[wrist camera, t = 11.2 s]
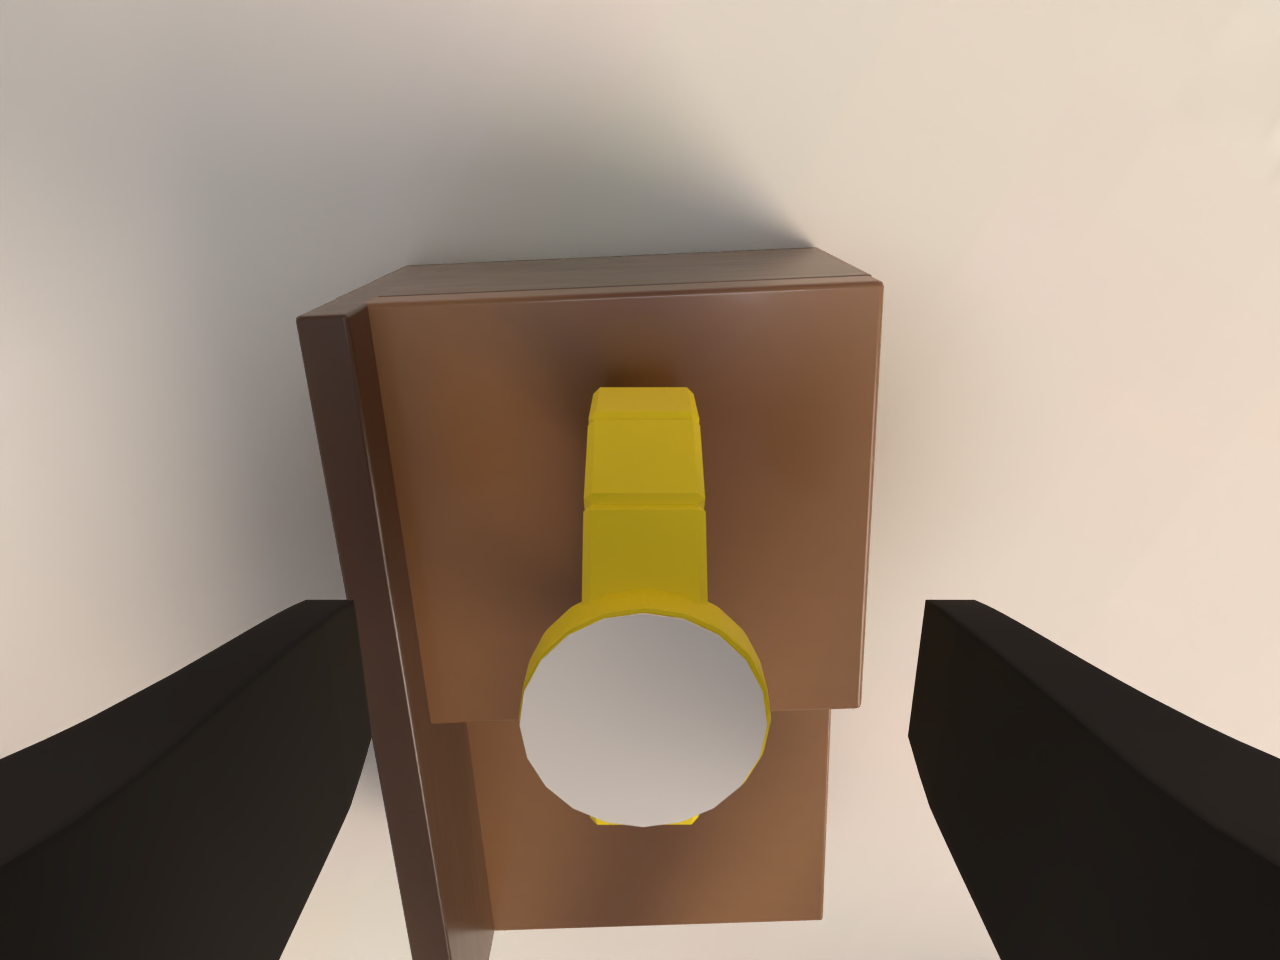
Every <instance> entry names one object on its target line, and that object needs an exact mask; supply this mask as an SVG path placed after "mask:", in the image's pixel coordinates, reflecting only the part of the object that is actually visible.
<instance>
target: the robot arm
mask: <svg viewBox="0 0 1280 960" xmlns="http://www.w3.org/2000/svg"><path fill="white" fill-rule="evenodd" d="M371 738H372V733H371V725H370V717H369V709H368V702H367V694H366V686H365V679H364V671H363V663H362V656H361V648H360V640H359V633H358V625H357V617H356V609H355V602H354V600H305V601H303V602H300V603H298V604H296V605H293V606H291V607H289V608H287V609H285V610H283V611H282V612H280V613H278V614H276V615H274V616H272V617H270V618H269V619H267V620H265V621H263V622H262V623H260V624H258V625H256V626H255V627H253V628H251V629H249V630H248V631H246V632H244V633H243V634H241V635H239V636H237V637H236V638H234V639H232V640H231V641H229V642H227V643H225V644H224V645H222V646H220V647H218V648H217V649H215V650H213V651H211V652H210V653H208V654H206V655H205V656H203V657H201V658H199V659H198V660H196V661H194V662H192V663H191V664H189V665H187V666H186V667H184V668H182V669H180V670H179V671H177V672H175V673H173V674H172V675H170V676H168V677H166V678H164V679H162V680H160V681H158V682H157V683H155V684H153V685H151V686H149V687H147V688H145V689H143V690H142V691H140V692H138V693H136V694H134V695H132V696H130V697H128V698H127V699H125V700H123V701H121V702H119V703H117V704H115V705H113V706H112V707H110V708H108V709H106V710H104V711H102V712H100V713H98V714H97V715H95V716H93V717H91V718H89V719H87V720H85V721H83V722H81V723H79V724H77V725H75V726H73V727H70V728H68V729H66V730H64V731H62V732H60V733H58V734H56V735H54V736H51V737H49V738H47V739H45V740H43V741H41V742H38V743H36V744H34V745H32V746H29V747H27V748H25V749H22V750H20V751H18V752H16V753H13V754H11V755H9V756H7V757H4V758H2V759H0V960H279V959H280V957H281V955H282V952H283V950H284V948H285V946H286V944H287V942H288V940H289V938H290V935H291V933H292V931H293V929H294V927H295V925H296V923H297V921H298V918H299V916H300V914H301V912H302V910H303V908H304V906H305V904H306V902H307V899H308V897H309V895H310V893H311V891H312V889H313V887H314V885H315V882H316V880H317V878H318V876H319V874H320V872H321V870H322V868H323V865H324V863H325V861H326V859H327V857H328V855H329V852H330V850H331V848H332V846H333V844H334V842H335V839H336V837H337V835H338V833H339V831H340V829H341V826H342V824H343V822H344V820H345V817H346V815H347V813H348V811H349V808H350V806H351V803H352V800H353V797H354V794H355V791H356V788H357V784H358V781H359V778H360V775H361V772H362V768H363V765H364V762H365V758H366V755H367V751H368V748H369V744H370V741H371ZM908 738H909V741H910V744H911V748H912V751H913V755H914V758H915V762H916V765H917V768H918V772H919V775H920V778H921V781H922V784H923V788H924V791H925V794H926V797H927V800H928V803H929V806H930V808H931V811H932V813H933V815H934V817H935V820H936V822H937V824H938V826H939V829H940V831H941V833H942V835H943V837H944V839H945V842H946V844H947V846H948V848H949V850H950V852H951V855H952V857H953V859H954V861H955V863H956V865H957V868H958V870H959V872H960V874H961V876H962V878H963V880H964V882H965V885H966V887H967V889H968V891H969V893H970V895H971V897H972V899H973V901H974V904H975V906H976V908H977V910H978V912H979V914H980V916H981V918H982V921H983V923H984V925H985V927H986V929H987V931H988V933H989V935H990V938H991V940H992V942H993V944H994V946H995V948H996V950H997V952H998V955H999V957H1000V959H1001V960H1280V759H1279V758H1277V757H1275V756H1272V755H1270V754H1268V753H1265V752H1263V751H1261V750H1259V749H1256V748H1254V747H1252V746H1249V745H1247V744H1245V743H1243V742H1240V741H1238V740H1236V739H1234V738H1231V737H1229V736H1227V735H1225V734H1223V733H1221V732H1219V731H1217V730H1215V729H1212V728H1210V727H1208V726H1206V725H1204V724H1202V723H1200V722H1198V721H1196V720H1194V719H1192V718H1190V717H1188V716H1186V715H1184V714H1182V713H1181V712H1179V711H1177V710H1175V709H1173V708H1171V707H1169V706H1167V705H1165V704H1163V703H1161V702H1159V701H1157V700H1155V699H1153V698H1151V697H1149V696H1147V695H1146V694H1144V693H1142V692H1140V691H1138V690H1136V689H1135V688H1133V687H1131V686H1129V685H1127V684H1125V683H1124V682H1122V681H1120V680H1118V679H1116V678H1114V677H1113V676H1111V675H1109V674H1107V673H1106V672H1104V671H1102V670H1100V669H1098V668H1097V667H1095V666H1093V665H1091V664H1090V663H1088V662H1086V661H1085V660H1083V659H1081V658H1079V657H1078V656H1076V655H1074V654H1072V653H1071V652H1069V651H1067V650H1066V649H1064V648H1062V647H1060V646H1059V645H1057V644H1055V643H1053V642H1052V641H1050V640H1048V639H1047V638H1045V637H1043V636H1041V635H1040V634H1038V633H1036V632H1035V631H1033V630H1031V629H1029V628H1028V627H1026V626H1024V625H1022V624H1021V623H1019V622H1017V621H1015V620H1014V619H1012V618H1010V617H1008V616H1006V615H1005V614H1003V613H1001V612H999V611H997V610H995V609H993V608H991V607H989V606H987V605H985V604H983V603H980V602H978V601H976V600H926V602H925V609H924V617H923V625H922V633H921V640H920V648H919V656H918V663H917V671H916V679H915V686H914V694H913V702H912V709H911V717H910V725H909V733H908Z"/></svg>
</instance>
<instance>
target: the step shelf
mask: <svg viewBox="0 0 1280 960" xmlns="http://www.w3.org/2000/svg"><path fill="white" fill-rule="evenodd" d="M883 291H884V286H883V283H882V282H881V281H879V280H877V279H875V278H873V277H872V276H871V275H870V274H868V273H866V272H864V271H862V270H860V269H858V268H856V267H854V266H852V265H850V264H848V263H846V262H844V261H842V260H840V259H838V258H836V257H834V256H832V255H830V254H828V253H826V252H824V251H822V250H820V249H818V248H795V249H772V250H750V251H727V252H705V253H682V254H660V255H637V256H615V257H592V258H570V259H547V260H525V261H502V262H480V263H457V264H435V265H412V266H405V267H403V268H401V269H399V270H397V271H395V272H392V273H390V274H388V275H386V276H384V277H382V278H380V279H377V280H375V281H373V282H371V283H369V284H367V285H364V286H362V287H360V288H358V289H356V290H354V291H351V292H349V293H347V294H345V295H343V296H341V297H338V298H336V299H335V300H333V301H331V302H329V303H327V304H324V305H322V306H320V307H318V308H316V309H314V310H311V311H309V312H307V313H305V314H303V315H301V316H299V317H297V319H296V323H297V329H298V334H299V339H300V345H301V350H302V356H303V361H304V367H305V372H306V378H307V383H308V389H309V394H310V400H311V405H312V411H313V416H314V422H315V427H316V433H317V438H318V444H319V449H320V455H321V460H322V466H323V471H324V477H325V482H326V488H327V493H328V499H329V504H330V510H331V515H332V521H333V526H334V532H335V537H336V543H337V548H338V554H339V559H340V565H341V570H342V576H343V581H344V587H345V592H346V598H347V600H354V602H355V609H356V617H357V625H358V633H359V640H360V648H361V656H362V663H363V671H364V679H365V686H366V694H367V702H368V709H369V717H370V725H371V733H372V740H373V746H374V751H375V757H376V762H377V768H378V773H379V779H380V784H381V790H382V795H383V801H384V806H385V812H386V817H387V823H388V828H389V834H390V839H391V845H392V850H393V856H394V861H395V867H396V872H397V878H398V883H399V889H400V894H401V899H402V905H403V910H404V916H405V921H406V927H407V932H408V938H409V943H410V949H411V954H412V960H489V956H490V950H491V945H492V940H493V934H494V930H525V929H556V928H586V927H617V926H648V925H678V924H709V923H739V922H770V921H801V920H821V919H822V917H823V894H824V869H825V844H826V819H827V794H828V770H829V745H830V720H831V709H846V708H858V707H860V705H861V695H862V677H863V658H864V640H865V622H866V603H867V585H868V567H869V548H870V530H871V511H872V493H873V475H874V456H875V438H876V420H877V401H878V383H879V365H880V346H881V328H882V310H883ZM600 387H687V388H688V389H689V390H690V391H691V392H692V393H693V394H694V398H695V402H696V407H697V411H698V415H699V425H700V432H701V446H702V460H703V475H704V489H705V506H704V510H705V511H706V546H707V591H708V602H710V603H712V604H714V605H716V606H717V607H719V608H720V609H721V610H722V611H723V612H724V613H725V614H727V615H728V616H729V617H730V618H731V619H732V620H733V621H734V622H735V623H736V624H737V625H738V626H739V627H740V628H741V629H742V630H743V631H744V632H745V634H746V635H747V637H748V639H749V641H750V643H751V645H752V646H753V648H754V650H755V652H756V654H757V656H758V658H759V660H760V662H761V666H762V670H763V674H764V678H765V682H766V685H767V690H768V698H769V705H770V713H771V723H770V727H769V731H768V735H767V740H766V744H765V748H764V751H763V754H762V756H761V758H760V760H759V761H758V763H757V764H756V766H755V767H754V769H753V770H752V772H751V773H750V775H749V777H748V778H747V780H746V781H745V782H744V783H743V784H742V785H741V786H740V787H739V788H738V789H737V790H736V791H734V792H733V793H732V794H731V795H729V796H728V797H727V798H726V799H724V800H723V801H722V802H721V803H719V804H718V805H717V806H716V807H714V808H713V809H711V810H708V811H706V812H703V813H701V814H699V816H698V818H697V819H696V820H695V821H694V822H693V823H692V824H691V825H656V826H648V827H638V826H630V825H597V824H596V823H595V822H594V821H593V820H592V819H591V818H590V815H588V814H585V813H583V812H580V811H578V810H575V809H573V808H572V807H571V806H569V805H568V804H567V803H566V802H564V801H563V800H562V799H561V798H559V797H558V796H557V795H556V794H554V793H553V792H552V791H551V790H550V789H548V788H547V787H546V786H545V785H544V783H543V781H542V780H541V778H540V777H539V775H538V774H537V772H536V771H535V769H534V768H533V766H532V765H531V763H530V762H529V760H528V758H527V755H526V751H525V747H524V742H523V738H522V734H521V730H520V724H519V712H520V704H521V697H522V690H523V685H524V681H525V676H526V672H527V668H528V664H529V661H530V659H531V657H532V655H533V653H534V651H535V649H536V647H537V645H538V644H539V642H540V640H541V638H542V636H543V634H544V633H545V631H546V630H547V629H548V628H549V627H550V626H551V625H552V624H553V623H554V622H556V621H557V620H558V619H559V618H560V617H561V616H562V615H563V614H564V613H565V612H566V611H567V610H569V609H570V608H571V607H572V606H574V605H576V604H578V603H580V602H582V560H583V511H584V510H585V509H584V485H585V468H586V450H587V432H588V425H589V414H590V408H591V403H592V398H593V394H594V393H595V392H596V391H597V390H598V389H599V388H600Z"/></svg>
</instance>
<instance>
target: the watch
mask: <svg viewBox="0 0 1280 960" xmlns="http://www.w3.org/2000/svg"><path fill="white" fill-rule="evenodd" d="M704 506H705V489H704V475H703V460H702V446H701V432H700V425H699V415H698V411H697V407H696V402H695V398H694V394H693V393H692V392H691V391H690V390H689V389H688V388H687V387H600V388H599V389H598V390H597V391H596V392H595V393H594V394H593V398H592V403H591V408H590V414H589V425H588V432H587V450H586V468H585V485H584V509H585V510H584V511H583V560H582V602H580V603H578V604H576V605H574V606H572V607H571V608H570V609H569V610H567V611H566V612H565V613H564V614H563V615H562V616H561V617H560V618H559V619H558V620H557V621H556V622H554V623H553V624H552V625H551V626H550V627H549V628H548V629H547V630H546V631H545V633H544V634H543V636H542V638H541V640H540V642H539V644H538V645H537V647H536V649H535V651H534V653H533V655H532V657H531V659H530V661H529V664H528V668H527V672H526V676H525V681H524V685H523V690H522V697H521V704H520V712H519V724H520V730H521V734H522V738H523V742H524V747H525V751H526V755H527V758H528V760H529V762H530V763H531V765H532V766H533V768H534V769H535V771H536V772H537V774H538V775H539V777H540V778H541V780H542V781H543V783H544V785H545V786H546V787H547V788H548V789H550V790H551V791H552V792H553V793H554V794H556V795H557V796H558V797H559V798H561V799H562V800H563V801H564V802H566V803H567V804H568V805H569V806H571V807H572V808H573V809H575V810H578V811H580V812H583V813H585V814H588V815H590V818H591V819H592V820H593V821H594V822H595V823H596V824H597V825H630V826H638V827H648V826H656V825H691V824H692V823H693V822H694V821H695V820H696V819H697V818H698V816H699V814H701V813H703V812H706V811H708V810H711V809H713V808H714V807H716V806H717V805H718V804H719V803H721V802H722V801H723V800H724V799H726V798H727V797H728V796H729V795H731V794H732V793H733V792H734V791H736V790H737V789H738V788H739V787H740V786H741V785H742V784H743V783H744V782H745V781H746V780H747V778H748V777H749V775H750V773H751V772H752V770H753V769H754V767H755V766H756V764H757V763H758V761H759V760H760V758H761V756H762V754H763V751H764V748H765V744H766V740H767V735H768V731H769V727H770V723H771V713H770V705H769V698H768V690H767V685H766V682H765V678H764V674H763V670H762V666H761V662H760V660H759V658H758V656H757V654H756V652H755V650H754V648H753V646H752V645H751V643H750V641H749V639H748V637H747V635H746V634H745V632H744V631H743V630H742V629H741V628H740V627H739V626H738V625H737V624H736V623H735V622H734V621H733V620H732V619H731V618H730V617H729V616H728V615H727V614H725V613H724V612H723V611H722V610H721V609H720V608H719V607H717V606H716V605H714V604H712V603H710V602H708V591H707V546H706V511H705V510H704Z"/></svg>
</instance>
